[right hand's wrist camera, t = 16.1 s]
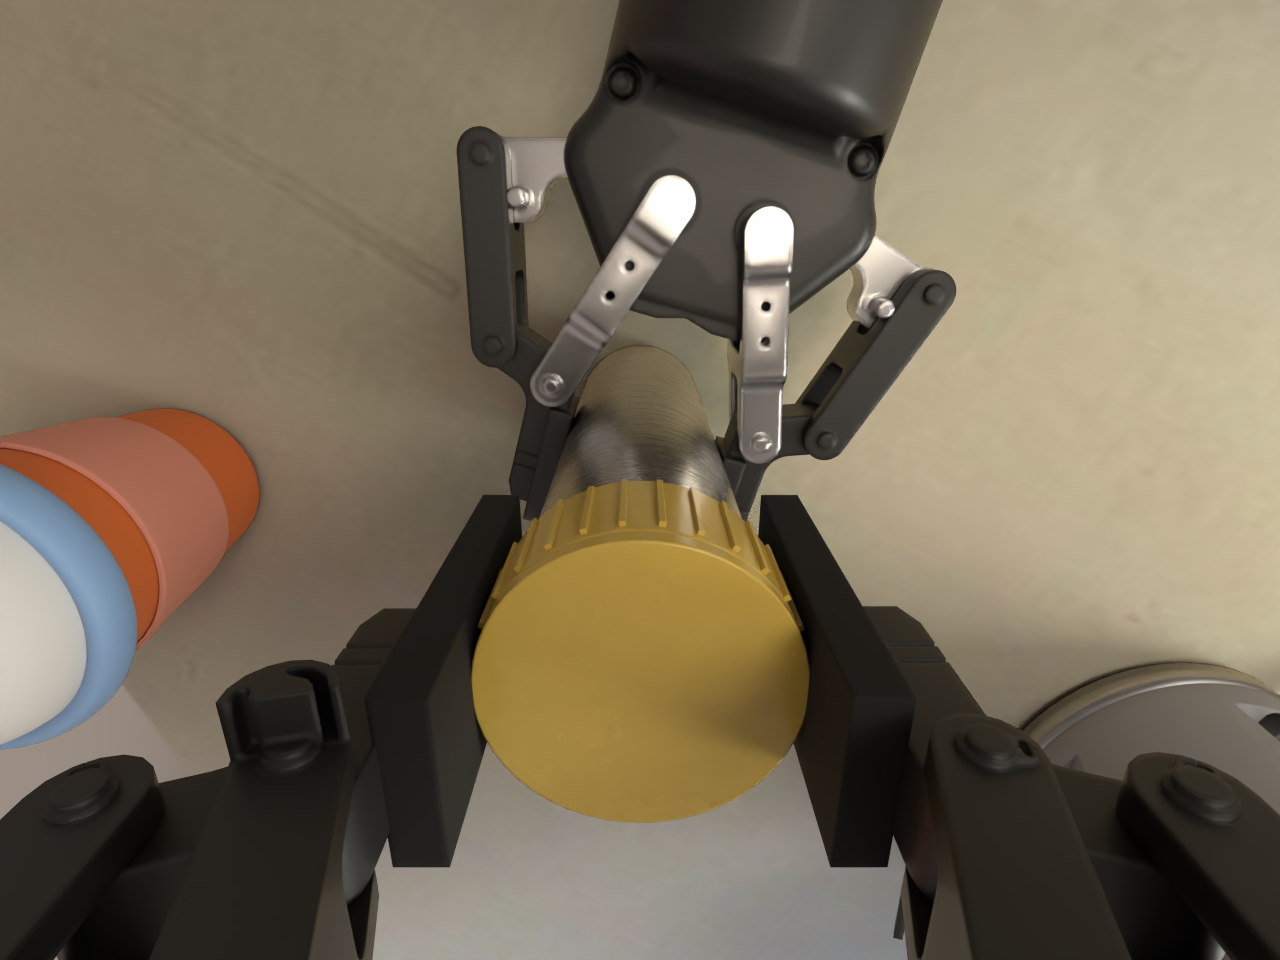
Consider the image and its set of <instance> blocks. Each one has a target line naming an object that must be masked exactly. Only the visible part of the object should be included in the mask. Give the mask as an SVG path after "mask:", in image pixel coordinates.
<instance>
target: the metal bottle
mask: <svg viewBox="0 0 1280 960" xmlns="http://www.w3.org/2000/svg"><path fill="white" fill-rule="evenodd" d="M622 479H628V481H656V480H657V479H659V480H663V483H670V484H675V485H679V486H682V487H686V488H690V487H691V486H692V487H695V488H697V491H698V492H700V493H702V494H705V495H707V496H710V497H711V498H713V499H715V500H717V501H718V502H721V501H722V500H723V501H724V502H726V503H727V505H728V508H729V509H731V510H732V511H733V512H734V513H736V514H737V515H738V516H740V517H741V515H740V512H739V509H738V506H737V503H736V500H735V497H734V495H733V492H732V489H731V486H730V483H729V480H728V477H727V474H726V472H725V469H724V466H723V463H722V460H721V457H720V454H719V452H718V449H717V446H716V443H715V440H714V437H713V434H712V431H711V429H710V426H709V423H708V420H707V417H706V414H705V411H704V408H703V406H702V403H701V400H700V397H699V394H698V391H697V388H696V386H695V383H694V380H693V378H692V376H691V374H690V373H689V371H688V370H687V368H686V367H685V366H684V365H683V364H682V362H680V361H679V360H678V359H677V358H676V357H674V356H673V355H671V354H670V353H668V352H666V351H664V350H661V349H658V348H655V347H650V346H631V347H626V348H623V349H620V350H617V351H615V352H613V353H611V354H610V355H608V356H607V357H605V358H604V359H603V360H602V361H601V362H599V363H598V365H597V366H596V367H595V368H594V369H593V371H592V373H591V374H590V376H589V378H588V380H587V382H586V385H585V388H584V391H583V394H582V397H581V400H580V403H579V405H578V408H577V411H576V414H575V417H574V420H573V423H572V426H571V429H570V431H569V434H568V437H567V440H566V443H565V446H564V449H563V451H562V454H561V457H560V460H559V463H558V466H557V469H556V472H555V474H554V477H553V480H552V483H551V486H550V489H549V492H548V495H547V498H546V500H545V503H544V506H543V509H542V512H541V515H540V518H541V517H542V516H543V515H544V514H545V513H546V512H548V511H549V510H551V509H552V508H553V507H555V506H556V503H557V501H558V500H560V499H563V501H564V500H566V499H568V498H570V497H572V496H574V495H576V494H578V493H581V492H584V491H586V490H587V488H588V487H589V486H594V487H598V486H603V485H607V484H611V483H618V482H621V480H622ZM540 518H539V519H540ZM741 518H742V517H741Z"/></svg>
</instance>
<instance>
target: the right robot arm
mask: <svg viewBox="0 0 1280 960" xmlns="http://www.w3.org/2000/svg"><path fill="white" fill-rule="evenodd" d="M758 537H759V539H760V540H761V541H762V543H763V544H764V546H765V545H767V544H769V546H770V548H771V550H772V552H773V555H774V557H775V560H776V562H777V565H778V567H779V570H780V571H781V572H782V575H783V577H784V580H785V582H786V584H787V587H788V589H789V592H790V594H791V597H792V599H793V602H794V604H795V606H796V609H797V611H798V614H799V616H800V619H801V621H802V624H803V626H804V631H801V632H800V633H801V635H802V638H803V641H804V644H805V647H806V649H807V655H808V660H809V665H810V676H809V687H808V697H807V706H806V714H805V717H804V721H803V724H802V726H801V728H800V731H799V733H798V735H797V737H796V739H795V741H794V746H795V749H796V752H797V756H798V759H799V763H800V766H801V769H802V773H803V776H804V779H805V783H806V786H807V789H808V793H809V796H810V800H811V803H812V806H813V810H814V813H815V816H816V820H817V823H818V826H819V830H820V833H821V837H822V840H823V843H824V847H825V850H826V853H827V857H828V860H829V863H830V867H888V861H889V855H890V850H891V844H892V838H893V835H894V838H895V840H896V843H897V845H898V847H899V850H900V852H901V855H902V857H903V859H904V862H905V864H906V868H905V873H904V878H903V884H902V889H901V895H900V900H899V905H898V911H897V916H896V922H895V929H894V936H893V938H897V939H901V940H902V939H903V934H904V929H905V937H906V946H907V956H908V960H1280V695H1278V694H1277V693H1276V692H1274V691H1273V690H1272V689H1270V688H1269V687H1267V686H1266V685H1265V684H1263V683H1261V682H1260V681H1258V680H1256V679H1254V678H1253V677H1250V676H1248V675H1246V674H1243V673H1241V672H1238V671H1235V670H1231V669H1228V668H1224V667H1219V666H1214V665H1208V664H1198V663H1170V664H1159V665H1152V666H1145V667H1140V668H1136V669H1131V670H1127V671H1124V672H1121V673H1117V674H1114V675H1111V676H1108V677H1106V678H1103V679H1100V680H1098V681H1095V682H1093V683H1091V684H1089V685H1087V686H1084V687H1082V688H1080V689H1078V690H1077V691H1075V692H1073V693H1071V694H1069V695H1068V696H1066V697H1064V698H1063V699H1061V700H1060V701H1058V702H1057V703H1055V704H1054V705H1052V706H1051V707H1049V708H1048V709H1047V710H1045V711H1044V712H1043V713H1042V714H1040V715H1039V716H1038V717H1037V718H1036V719H1035V720H1033V721H1032V722H1031V723H1030V724H1029V725H1028V726H1027V727H1026V728H1025V729H1024V730H1023V731H1022V730H1020V729H1018V728H1016V727H1014V726H1012V725H1010V724H1008V723H1005V722H1003V721H1001V720H999V719H995V718H991V717H988V716H986V715H985V713H984V712H983V710H982V709H981V707H980V706H979V705H978V703H977V702H976V700H975V699H974V698H973V696H972V695H971V693H970V692H969V691H968V689H967V688H966V686H965V685H964V684H963V682H962V681H961V679H960V678H959V676H958V675H957V674H956V672H955V671H954V669H953V668H952V667H951V665H950V664H949V663H946V658H945V657H944V655H943V654H942V652H941V651H940V650H939V648H938V647H937V646H935V645H934V641H933V640H932V638H931V637H930V636H929V634H928V633H927V631H926V630H925V629H924V627H923V626H922V624H921V623H920V622H918V621H917V620H915V619H914V618H913V617H911V616H910V615H908V614H907V613H905V612H904V611H903V610H901V609H900V608H898V607H897V606H862V605H861V603H860V601H859V600H858V598H857V596H856V594H855V593H854V591H853V589H852V588H851V586H850V584H849V583H848V581H847V579H846V577H845V576H844V574H843V572H842V571H841V569H840V567H839V565H838V564H837V562H836V560H835V559H834V557H833V555H832V554H831V552H830V550H829V548H828V547H827V545H826V543H825V542H824V540H823V538H822V537H821V535H820V533H819V531H818V530H817V528H816V526H815V525H814V523H813V521H812V519H811V518H810V516H809V514H808V513H807V511H806V509H805V508H804V506H803V504H802V502H801V501H800V499H799V497H798V496H797V495H761V505H760V520H759V535H758ZM521 538H522V530H521V515H520V500H519V495H483V496H482V498H481V500H480V501H479V503H478V505H477V506H476V508H475V510H474V512H473V513H472V515H471V517H470V518H469V520H468V522H467V524H466V525H465V527H464V529H463V530H462V532H461V534H460V535H459V537H458V539H457V541H456V542H455V544H454V546H453V547H452V549H451V551H450V552H449V554H448V556H447V558H446V559H445V561H444V563H443V564H442V566H441V568H440V570H439V571H438V573H437V575H436V576H435V578H434V580H433V581H432V583H431V585H430V587H429V588H428V590H427V592H426V593H425V595H424V597H423V599H422V600H421V602H420V604H419V605H418V607H417V609H383V610H381V611H380V612H378V613H377V614H376V615H374V616H373V617H371V618H370V619H368V620H367V621H365V622H364V623H363V624H361V625H360V626H359V628H358V629H357V630H356V632H355V633H354V635H353V636H352V637H351V639H350V640H349V642H348V643H347V645H346V649H343V650H342V652H341V653H340V655H339V656H338V657H337V659H336V660H335V665H332V666H330V665H329V664H327V663H323V662H318V661H314V660H297V661H288V662H283V663H279V664H275V665H271V666H267V667H265V668H262V669H260V670H258V671H256V672H253V673H251V674H249V675H246V676H245V677H243V678H242V679H240V680H239V681H237V682H236V683H234V684H233V685H232V686H230V687H229V688H227V689H226V691H225V692H224V693H223V694H222V696H221V697H220V698H219V699H218V701H217V702H216V707H217V710H218V714H219V718H220V722H221V725H222V729H223V733H224V737H225V740H226V744H227V748H228V752H229V756H230V759H231V761H230V764H229V766H228V767H225V768H222V769H218V770H215V771H212V772H207V773H203V774H198V775H194V776H189V777H185V778H181V779H176V780H172V781H167V782H163V783H158V780H157V777H156V774H155V770H154V767H153V766H152V765H151V764H150V763H149V762H148V761H146V760H145V759H144V758H143V757H136V756H130V755H118V756H111V757H104V758H99V759H96V760H93V761H89V762H87V763H83V764H80V765H77V766H75V767H72V768H70V769H68V770H66V771H64V772H62V773H61V774H59V775H57V776H55V777H53V778H51V779H49V780H47V781H45V782H44V783H43V784H41V785H40V786H39V787H37V788H36V789H35V790H33V791H32V792H31V793H30V794H28V795H27V796H26V797H24V798H23V799H22V800H21V801H20V802H19V803H18V804H16V805H15V806H14V807H13V808H12V809H11V810H10V811H9V812H8V813H7V814H6V815H5V816H4V817H3V818H2V819H1V820H0V960H54V958H55V957H56V956H57V957H58V960H372V957H373V948H374V938H375V929H376V919H377V910H378V900H379V892H378V885H377V878H376V873H375V866H376V864H377V861H378V859H379V857H380V854H381V852H382V849H383V847H384V845H385V842H386V840H387V837H388V841H389V847H390V853H391V859H392V865H393V867H450V865H451V861H452V858H453V855H454V851H455V848H456V845H457V841H458V838H459V834H460V831H461V828H462V824H463V821H464V818H465V814H466V811H467V808H468V804H469V801H470V797H471V794H472V791H473V787H474V784H475V781H476V777H477V774H478V771H479V767H480V764H481V760H482V757H483V754H484V750H485V747H486V744H487V740H486V739H485V737H484V735H483V733H482V730H481V728H480V725H479V723H478V720H477V718H476V714H475V709H474V702H473V692H472V682H471V668H472V660H473V656H474V652H475V647H476V643H477V641H478V638H479V636H480V633H481V631H482V629H481V628H478V624H479V621H480V619H481V616H482V614H483V611H484V609H485V606H486V604H487V601H488V599H489V597H490V594H491V592H492V589H493V587H494V584H495V582H496V579H497V577H498V574H499V572H500V570H501V568H502V569H503V566H504V564H505V561H506V559H507V556H508V554H509V551H510V549H511V546H512V545H513V543H514V542H516V543H519V541H520V540H521Z"/></svg>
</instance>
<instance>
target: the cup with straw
mask: <svg viewBox="0 0 1280 960" xmlns="http://www.w3.org/2000/svg"><path fill="white" fill-rule="evenodd" d="M258 503H259V485H258V479H257V475H256V472H255V470H254V467H253V465H252V463H251V461H250V459H249V457H248V455H247V454H246V452H245V451H244V450H243V448H242V447H241V446H240V444H239V443H238V442H237V441H236V440H235V439H234V438H233V437H232V436H231V435H230V434H229V433H228V432H226V431H225V430H224V429H223V428H221V427H220V426H218V425H217V424H215V423H214V422H212V421H210V420H208V419H206V418H204V417H202V416H199V415H197V414H194V413H191V412H187V411H183V410H176V409H153V410H147V411H141V412H137V413H132V414H127V415H123V416H119V417H114V418H113V417H95V418H86V419H81V420H77V421H72V422H67V423H63V424H58V425H54V426H49V427H45V428H40V429H35V430H31V431H26V432H22V433H17V434H12V435H8V436H3V437H0V749H11V748H18V747H23V746H28V745H32V744H37V743H40V742H43V741H46V740H49V739H52V738H54V737H56V736H59V735H61V734H63V733H65V732H67V731H69V730H71V729H73V728H74V727H76V726H78V725H79V724H81V723H83V722H84V721H86V720H87V719H89V718H90V717H91V716H92V715H94V714H95V713H96V712H97V711H99V710H100V709H101V708H102V707H103V706H104V705H105V704H106V703H107V702H108V701H109V700H110V699H111V698H112V697H113V695H114V694H115V693H116V691H117V690H118V689H119V687H120V686H121V684H122V683H123V681H124V679H125V677H126V676H127V674H128V671H129V669H130V666H131V664H132V661H133V658H134V654H135V651H136V650H137V649H138V648H140V647H141V646H142V645H143V644H144V643H145V642H146V641H147V640H148V639H149V638H150V637H151V636H152V635H153V634H154V633H155V632H156V630H157V629H158V628H159V627H160V626H161V625H162V624H163V623H164V622H165V621H166V620H167V619H168V618H169V617H170V616H171V615H172V614H173V613H174V612H175V611H176V610H177V609H178V608H179V607H180V606H181V604H182V603H183V602H184V601H185V600H186V599H187V598H188V597H189V596H190V595H191V594H192V593H193V592H194V591H195V590H196V589H197V588H198V587H199V586H200V585H201V584H202V583H203V582H204V581H205V579H206V578H207V577H208V576H209V575H210V574H211V573H212V572H213V571H214V570H215V569H216V567H217V566H218V564H219V563H220V561H221V559H222V557H223V555H224V553H225V552H226V551H227V550H228V549H229V548H230V547H231V546H232V544H233V543H234V542H235V541H236V540H237V539H238V538H239V537H240V536H241V535H242V534H243V533H244V532H245V531H246V530H247V528H248V527H249V526H250V524H251V522H252V521H253V519H254V516H255V514H256V511H257V508H258Z"/></svg>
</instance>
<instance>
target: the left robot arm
mask: <svg viewBox="0 0 1280 960" xmlns="http://www.w3.org/2000/svg"><path fill="white" fill-rule="evenodd" d="M942 1H943V0H620V2H619V6H618V11H617V15H616V19H615V23H614V28H613V32H612V36H611V41H610V45H609V49H608V54H607V58H606V62H605V67H604V71H603V75H602V79H601V83H600V85H599V88H598V91H597V93H596V95H595V97H594V99H593V101H592V103H591V104H590V106H589V107H588V109H587V110H586V111H585V113H584V114H583V115H582V116H581V117H580V118H579V119H578V120H577V122H576V123H575V124H574V125H573V127H572V128H571V130H570V132H569V134H568V137H567V138H536V137H502V136H500V135H498V134H497V133H495V132H494V131H492V130H491V129H489V128H486V127H482V126H476V127H472V128H469V129H468V130H466V131H465V132H464V133H463V134H462V135H461V137H460V139H459V141H458V144H457V162H458V175H459V189H460V202H461V215H462V228H463V241H464V255H465V268H466V281H467V294H468V307H469V321H470V334H471V346H472V351H473V353H474V355H475V357H476V358H477V359H478V360H479V361H480V362H481V363H482V364H484V365H486V366H489V367H497V368H498V369H500V370H501V371H503V372H504V373H506V374H507V375H508V376H510V377H511V378H513V379H514V380H515V381H517V382H518V383H519V384H520V386H521V387H522V389H523V391H524V393H525V396H526V409H525V413H524V418H523V422H522V426H521V431H520V435H519V439H518V443H517V448H516V452H515V456H514V461H513V465H512V469H511V473H510V478H509V484H510V490H511V495H519V499H521V500H525V501H527V503H526V508H525V512H524V516H523V519H526V520H530V521H532V520H533V519H534V518H536V519H537V520H538V519H539V518H540V515H541V512H542V509H543V506H544V503H545V500H546V498H547V495H548V492H549V489H550V486H551V483H552V480H553V477H554V474H555V472H556V469H557V466H558V463H559V460H560V457H561V454H562V451H563V449H564V446H565V443H566V440H567V437H568V434H569V431H570V429H571V426H572V423H573V420H574V417H575V413H576V409H577V405H578V401H579V397H575V396H574V392H575V389H576V388H577V386H578V384H579V383H580V381H581V380H582V378H583V377H584V375H585V374H586V372H587V371H588V369H589V368H590V366H591V365H592V363H593V362H594V360H595V359H596V357H597V356H598V354H599V353H600V351H601V350H602V348H603V347H604V346H605V345H606V343H607V342H608V341H609V339H610V338H611V336H612V335H613V333H614V332H615V330H616V329H617V327H618V326H619V324H620V323H621V321H622V320H623V318H624V317H625V315H626V314H627V312H628V311H629V310H631V311H635V312H638V313H642V314H645V315H649V316H652V317H655V318H685V319H688V320H690V321H691V322H693V323H695V324H696V325H698V326H700V327H701V328H703V329H704V330H706V331H708V332H709V333H711V334H714V335H717V336H720V337H724V338H727V357H728V366H729V426H728V429H727V432H726V434H725V437H724V438H721V437H718V436H716V439H715V443H716V446H717V449H718V452H719V454H720V457H721V460H722V463H723V466H724V469H725V472H726V474H727V477H728V480H729V483H730V486H731V489H732V492H733V495H734V497H735V500H736V503H737V506H738V509H739V512H740V515H741V517H742V519H743V520H744V521H745V522H746V520H747V518H748V514H749V512H750V510H751V507H752V504H753V501H754V499H755V496H756V493H757V491H758V488H759V485H760V482H761V480H762V477H763V474H764V472H765V470H766V469H767V467H768V466H769V465H770V464H771V463H772V462H773V461H775V460H776V459H779V458H781V457H784V456H794V455H808V454H810V455H811V456H813V457H814V458H816V459H819V460H829V459H832V458H834V457H836V456H838V455H839V454H840V453H841V452H842V451H843V450H844V448H845V447H846V446H847V444H848V443H849V442H850V440H851V439H852V438H853V436H854V435H855V434H856V432H857V431H858V429H859V428H860V427H861V425H862V424H863V423H864V421H865V420H866V419H867V417H868V416H869V415H870V413H871V412H872V411H873V409H874V408H875V407H876V405H877V404H878V403H879V401H880V400H881V399H882V397H883V396H884V395H885V393H886V392H887V391H888V389H889V388H890V387H891V385H892V384H893V383H894V381H895V380H896V379H897V377H898V376H899V375H900V373H901V372H902V371H903V369H904V368H905V367H906V365H907V364H908V363H909V361H910V360H911V358H912V357H913V356H914V354H915V353H916V352H917V350H918V349H919V348H920V346H921V345H922V344H923V342H924V341H925V340H926V338H927V337H928V336H929V334H930V333H931V332H932V330H933V329H934V328H935V326H936V325H937V324H938V322H939V321H940V320H941V318H942V317H943V316H944V314H945V313H946V312H947V310H948V309H949V308H950V306H951V305H952V303H953V301H954V299H955V296H956V285H955V282H954V280H953V278H952V277H951V276H950V275H949V274H947V273H946V272H943V271H939V270H934V269H932V268H926V267H920V266H919V265H917V264H916V263H914V262H913V261H911V260H910V259H909V258H907V257H906V256H904V255H903V254H901V253H900V252H898V251H897V250H896V249H894V248H893V247H891V246H890V245H888V244H887V243H886V242H884V241H883V240H881V239H880V238H878V237H877V236H875V230H876V213H875V206H874V191H875V183H876V178H877V174H878V171H879V168H880V166H881V163H882V161H883V158H884V156H885V153H886V151H887V148H888V146H889V143H890V140H891V138H892V135H893V132H894V130H895V127H896V124H897V122H898V119H899V116H900V113H901V111H902V108H903V105H904V103H905V100H906V97H907V95H908V92H909V89H910V87H911V84H912V81H913V78H914V76H915V73H916V70H917V68H918V65H919V62H920V60H921V57H922V54H923V52H924V49H925V46H926V43H927V41H928V38H929V35H930V33H931V30H932V27H933V25H934V22H935V19H936V17H937V14H938V11H939V8H940V6H941V3H942ZM563 179H569V182H570V185H571V187H572V190H573V193H574V196H575V198H576V201H577V204H578V207H579V209H580V212H581V215H582V217H583V220H584V223H585V226H586V228H587V231H588V234H589V236H590V239H591V242H592V245H593V247H594V250H595V253H596V256H597V258H598V261H599V264H600V269H599V270H598V272H597V273H596V275H595V276H594V278H593V280H592V281H591V283H590V284H589V286H588V287H587V289H586V291H585V292H584V294H583V295H582V297H581V299H580V300H579V302H578V303H577V305H576V306H575V308H574V310H573V311H572V313H571V314H570V316H569V318H568V319H567V321H566V323H565V324H564V326H563V327H562V329H561V331H560V332H559V334H558V335H557V337H556V339H555V340H554V342H553V343H551V342H549V341H548V340H546V339H545V338H544V337H542V336H541V335H539V334H538V333H537V332H535V331H534V330H532V329H531V328H530V327H529V325H528V303H527V282H526V260H525V238H524V223H531V222H534V221H536V220H538V219H539V218H540V217H541V216H542V215H543V214H544V212H545V210H546V207H547V200H548V195H549V192H550V190H551V188H552V187H553V186H554V185H555V184H556V183H557V182H559V181H561V180H563ZM849 268H850V269H851V271H852V273H853V278H854V284H853V288H852V291H851V293H850V295H849V297H848V300H847V311H848V314H849V316H850V317H851V318H852V320H854V321H853V322H852V323H851V325H850V326H849V328H848V329H847V331H846V332H845V333H844V335H843V336H842V338H841V339H840V340H839V342H838V343H837V345H836V346H835V348H834V349H833V350H832V352H831V353H830V355H829V356H828V358H827V359H826V360H825V362H824V363H823V365H822V366H821V367H820V369H819V370H818V372H817V373H816V375H815V376H814V377H813V379H812V380H811V382H810V383H809V385H808V386H807V387H806V389H805V390H804V392H803V393H802V395H801V396H800V397H799V399H798V400H797V402H796V403H795V404H787V405H782V400H783V386H784V383H785V381H786V377H787V359H788V327H789V314H790V313H791V312H793V311H794V310H795V309H796V308H798V307H799V306H800V305H802V304H803V303H804V302H806V301H807V300H808V299H810V298H811V297H812V296H814V295H815V294H816V293H818V292H819V291H820V290H822V289H823V288H824V287H826V286H827V285H828V284H829V283H831V282H832V281H833V280H835V279H836V278H837V277H839V276H840V275H841V274H843V273H844V272H845V271H847V270H848V269H849Z"/></svg>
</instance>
